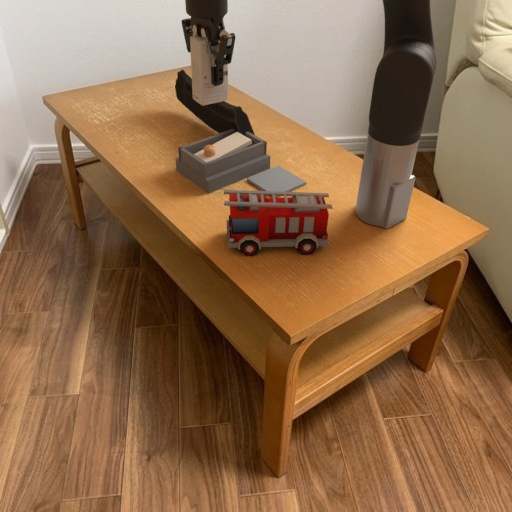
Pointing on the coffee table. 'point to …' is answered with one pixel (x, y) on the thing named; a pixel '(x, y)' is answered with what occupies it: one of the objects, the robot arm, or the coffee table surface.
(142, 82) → the coffee table surface
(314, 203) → the toy fire truck
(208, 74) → the skincare box
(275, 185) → the slate mat
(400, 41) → the robot arm
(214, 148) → the white block with knob
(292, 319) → the coffee table surface
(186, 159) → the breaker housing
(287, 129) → the coffee table surface
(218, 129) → the magazine
